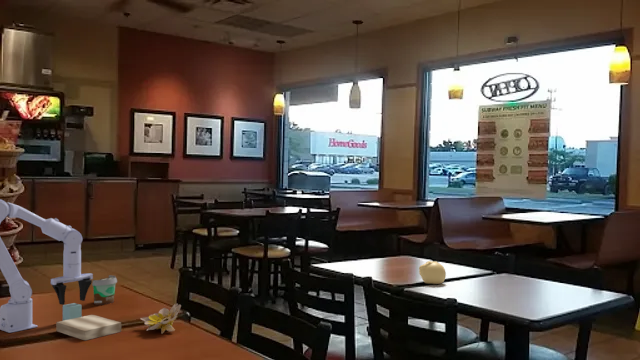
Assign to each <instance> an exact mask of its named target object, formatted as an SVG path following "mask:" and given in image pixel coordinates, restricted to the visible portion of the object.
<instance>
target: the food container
mask: <svg viewBox="0 0 640 360" xmlns="http://www.w3.org/2000/svg"><path fill="white" fill-rule="evenodd" d="M117 283H118V279H117V277H116V275H112V274H110V275H108V277H106V278H100V279H95V280H94V279H92V283H91V286H92V288H93V304H94V306H103V305H104V304H106V305H111V304H113V303H114V302H115V293H116V292H115V291H116V284H117ZM110 303H111V304H110Z"/></svg>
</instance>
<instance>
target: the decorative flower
mask: <svg viewBox="0 0 640 360" xmlns="http://www.w3.org/2000/svg"><path fill="white" fill-rule="evenodd" d="M181 307H182V305H181V304H178V303H174V304H173V305H172V307H171V308H170V310H169V309H168V308H166V307H163V308H161V309H160V310H159V311H158V312H157V313H156V312H155V313H153V314H149V316H147V317H140V320H142V321H144V325H146V326H148V327H147V329H146V331H152V330H159V329H160V332H161V335H163V334H164V333H165V331H168V332H175V330H176V329H175V328H174V327H173V323H174V321H175V320H177V317H178V313H179V312H180V311H181Z"/></svg>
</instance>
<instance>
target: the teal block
mask: <svg viewBox="0 0 640 360" xmlns="http://www.w3.org/2000/svg"><path fill="white" fill-rule="evenodd" d="M82 311H83V310H82V304H79V303H76V302H73V303H68V304H64V305H62V321H64V320H69V319H74V318H79V317H83V315H82V314H83V312H82Z"/></svg>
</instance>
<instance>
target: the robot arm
mask: <svg viewBox="0 0 640 360" xmlns="http://www.w3.org/2000/svg"><path fill="white" fill-rule="evenodd" d="M7 217H8V218H12V219H14V218H18V219H21V220H23V221H26V222H28V223H30V224H32V225H35V226H37V227H39V228H40V229H41V232H42V234H45V235H47V236H48V237H50V238H52V239H54V240H56V241H58V242H60V241H61V242H63V252H62V253H63V255H62V256H63V259H62V263H63V266H62V268H63V274H62V275H63V276H58V277H55V278H50V285H51V286H52V288H53V290H54V292H55V294H56V296H57V299H58V304H59V305H62V306H63V305H66V304H65V303H66V301H65V300H66V297H65V295H66V289H67V285H65V284H66V283H73V282H77V283H78V288H79V289H78V290H79V300H80V301H83V302H85V301H86V297H87V293H88V291H89V289H90V286H92V283H93V280H94V276H93V275H94V274H93V273H91V272H89V273H82V249H81V248H82V242H83V239H84V238H83V236H82V233H80V231H78V230H77V229H75V228H72V226H71V225H67V224H64V223H62V222H60V220H59V219H58V218H57V217H55V218H52V217H50V218H47V219H46V218H43V217H41V216H39V215H38V214H35V213H34V212H33V211H32V212H31V211H30V210H28V209H27V208H24V207H23V206H20V205H17V204H15V203H12V202H9V201H7V202H6V201H5V200H3V199H0V225H1V223H2V222H3V220H5V219H6V218H7ZM0 271H1V273H2V275H3V277H4V279H5V280H6V282H7V284H8V286H9V288H8V290H9V291H8V292H9V293H10V298H9V299H8V301H7V303H4V304H2V305H0V330H1V331H4V332H6V333H16V332H20V331H26V330H29V329H34V328H38V327H39V326H38V325H37V324H35V323H33V298H31V297H32V296H33V290H32V287H31V285H30V284H29V282H28V281H27V280H26V279H24V278H23V277H22V275H21V273H20V272H19V270H18V268H17V265H16V264H15V262H14V259H13V258H12V257H11V254H10V253H9V250H8V249H7V246H6V245H5V242H4V241H3V239H2V238H1V236H0Z"/></svg>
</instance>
